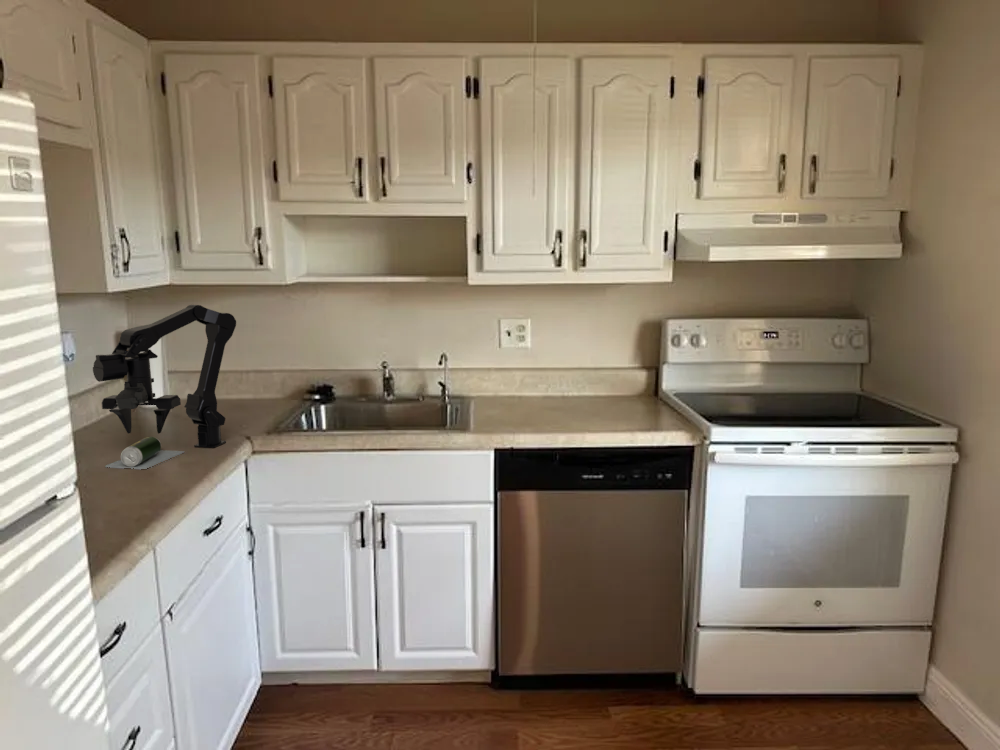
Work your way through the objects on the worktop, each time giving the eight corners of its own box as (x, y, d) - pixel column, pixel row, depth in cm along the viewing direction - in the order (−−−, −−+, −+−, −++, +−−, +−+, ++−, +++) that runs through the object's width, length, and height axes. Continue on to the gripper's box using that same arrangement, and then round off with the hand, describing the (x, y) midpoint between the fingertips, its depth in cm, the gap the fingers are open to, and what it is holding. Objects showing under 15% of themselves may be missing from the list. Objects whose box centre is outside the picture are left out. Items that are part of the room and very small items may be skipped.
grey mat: (147, 451, 198) (147, 449, 198) (184, 453, 196) (184, 451, 196) (105, 467, 182) (105, 465, 182) (146, 469, 180) (145, 467, 180)
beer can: (166, 444, 192) (144, 456, 180) (154, 458, 193) (131, 471, 181) (150, 431, 191) (128, 443, 180) (138, 445, 192) (115, 458, 180)
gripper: (86, 381, 177) (92, 440, 180) (158, 381, 177) (163, 440, 180) (111, 374, 188) (116, 430, 191) (179, 374, 188) (183, 430, 191)
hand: (144, 433), depth 188 cm, fingers open, 8 cm apart
